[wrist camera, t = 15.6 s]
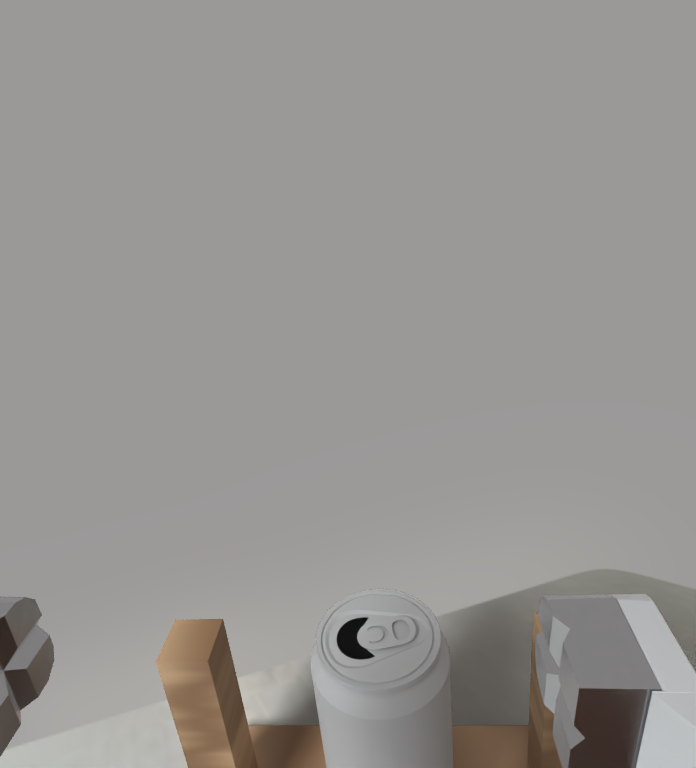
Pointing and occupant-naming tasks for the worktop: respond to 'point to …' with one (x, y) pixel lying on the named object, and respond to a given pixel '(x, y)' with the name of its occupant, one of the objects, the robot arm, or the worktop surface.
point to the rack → (304, 743)
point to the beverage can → (383, 683)
